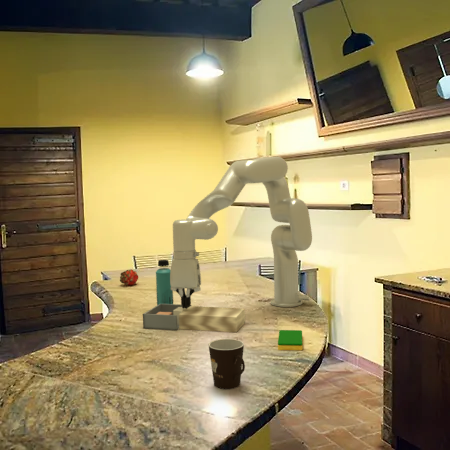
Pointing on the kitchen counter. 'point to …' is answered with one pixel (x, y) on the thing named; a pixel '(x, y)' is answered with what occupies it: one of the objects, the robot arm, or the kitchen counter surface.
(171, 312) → the orange square block
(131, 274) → the dragon fruit
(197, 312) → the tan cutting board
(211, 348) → the coffee mug
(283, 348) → the dish sponge
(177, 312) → the cream square block
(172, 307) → the tray
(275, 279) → the robot arm
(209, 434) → the kitchen counter surface
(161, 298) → the beverage bottle
